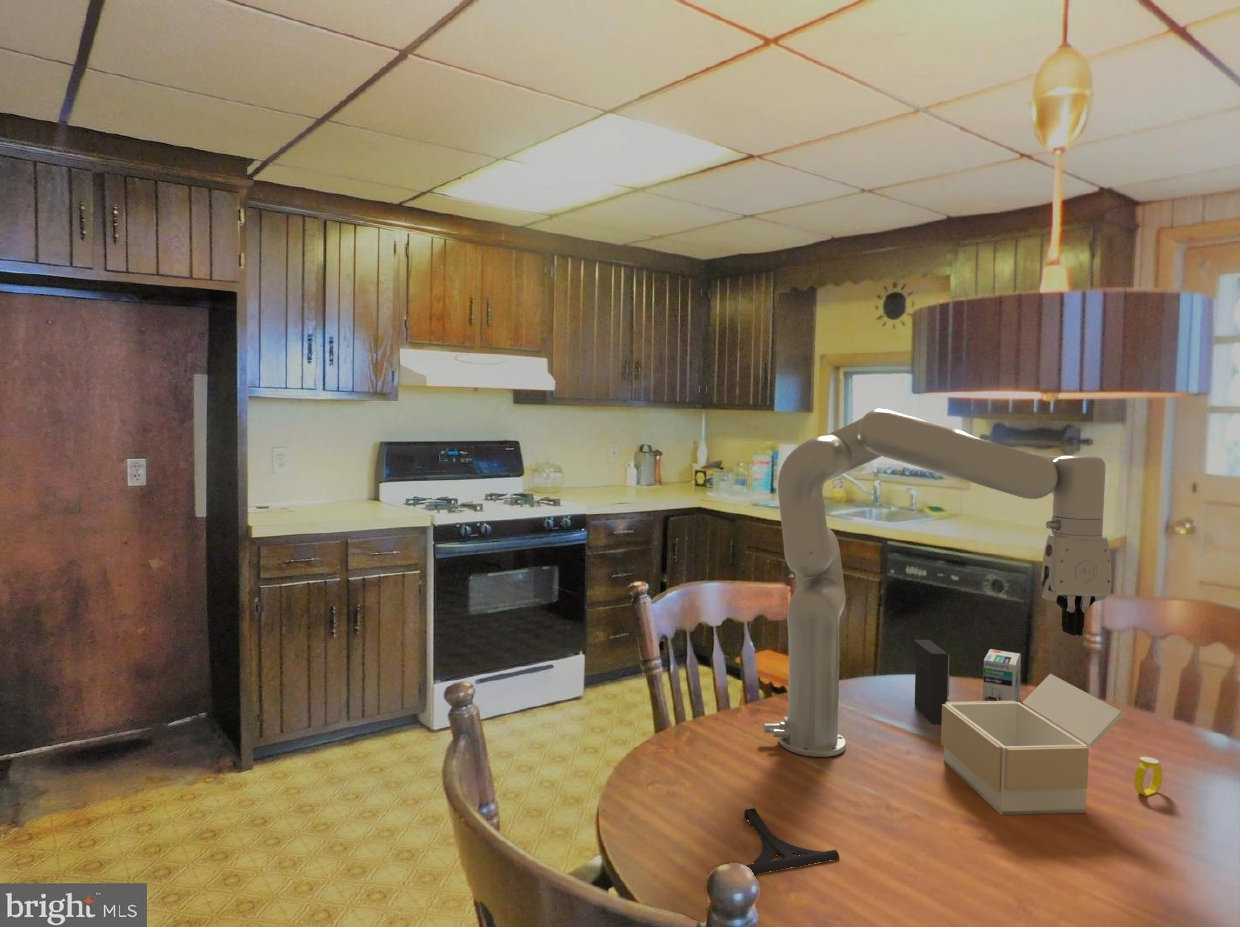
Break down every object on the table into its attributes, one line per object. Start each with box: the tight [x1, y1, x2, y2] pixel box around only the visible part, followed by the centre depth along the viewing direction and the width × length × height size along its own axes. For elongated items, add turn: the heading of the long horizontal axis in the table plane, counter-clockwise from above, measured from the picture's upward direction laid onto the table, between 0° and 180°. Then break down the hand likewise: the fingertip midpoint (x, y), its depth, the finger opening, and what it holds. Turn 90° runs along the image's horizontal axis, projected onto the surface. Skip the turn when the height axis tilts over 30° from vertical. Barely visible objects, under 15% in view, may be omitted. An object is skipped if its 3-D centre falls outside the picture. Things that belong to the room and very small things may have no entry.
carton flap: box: [1022, 673, 1125, 748], centre depth 139 cm, size 7×19×1 cm
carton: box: [940, 700, 1090, 816], centre depth 139 cm, size 15×22×11 cm
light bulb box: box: [982, 648, 1022, 703], centre depth 179 cm, size 11×7×11 cm, turn 149°
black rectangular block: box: [912, 639, 951, 725], centre depth 172 cm, size 11×4×15 cm, turn 179°
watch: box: [1133, 756, 1163, 797], centre depth 137 cm, size 6×3×6 cm, turn 118°
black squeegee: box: [743, 807, 840, 876], centre depth 121 cm, size 14×15×3 cm
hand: (1072, 633), depth 139 cm, fingers closed
